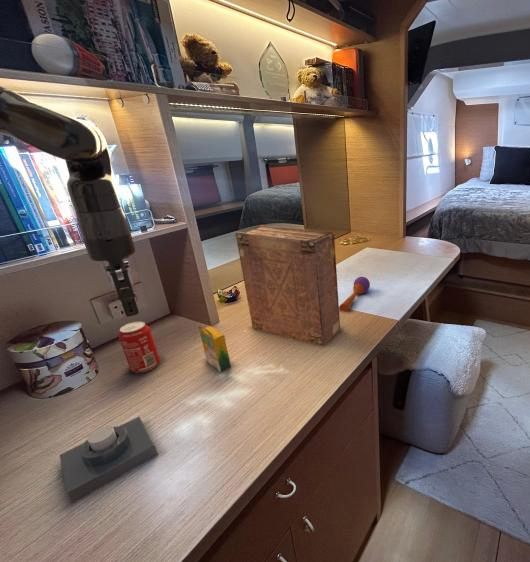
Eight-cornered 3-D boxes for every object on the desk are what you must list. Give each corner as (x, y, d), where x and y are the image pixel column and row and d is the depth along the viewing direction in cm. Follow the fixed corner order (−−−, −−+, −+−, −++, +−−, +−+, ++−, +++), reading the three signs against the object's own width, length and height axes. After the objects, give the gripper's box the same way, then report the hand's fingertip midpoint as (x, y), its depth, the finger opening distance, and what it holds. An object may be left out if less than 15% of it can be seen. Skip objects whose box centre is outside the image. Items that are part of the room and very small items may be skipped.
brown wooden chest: (252, 329, 102) (234, 232, 90) (272, 316, 110) (258, 224, 98) (324, 347, 92) (314, 241, 81) (340, 331, 100) (334, 232, 88)
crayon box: (232, 368, 85) (223, 328, 80) (220, 374, 83) (210, 333, 78) (218, 357, 89) (208, 318, 85) (206, 363, 87) (196, 323, 82)
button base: (74, 505, 53) (62, 483, 51) (65, 467, 60) (54, 446, 58) (159, 457, 61) (151, 436, 59) (143, 427, 68) (136, 408, 66)
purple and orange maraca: (333, 300, 110) (355, 274, 127) (338, 316, 112) (359, 288, 129) (349, 300, 108) (370, 273, 125) (354, 316, 110) (373, 287, 127)
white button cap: (93, 455, 56) (89, 446, 55) (89, 443, 59) (85, 434, 58) (119, 442, 59) (115, 433, 58) (114, 431, 61) (111, 422, 60)
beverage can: (157, 357, 90) (144, 317, 85) (163, 367, 86) (150, 326, 81) (129, 367, 86) (114, 326, 81) (134, 379, 82) (119, 336, 77)
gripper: (81, 228, 68) (106, 301, 74) (81, 244, 58) (110, 326, 64) (126, 223, 73) (146, 292, 79) (133, 236, 62) (156, 314, 69)
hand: (130, 307), depth 72 cm, fingers open, 8 cm apart
